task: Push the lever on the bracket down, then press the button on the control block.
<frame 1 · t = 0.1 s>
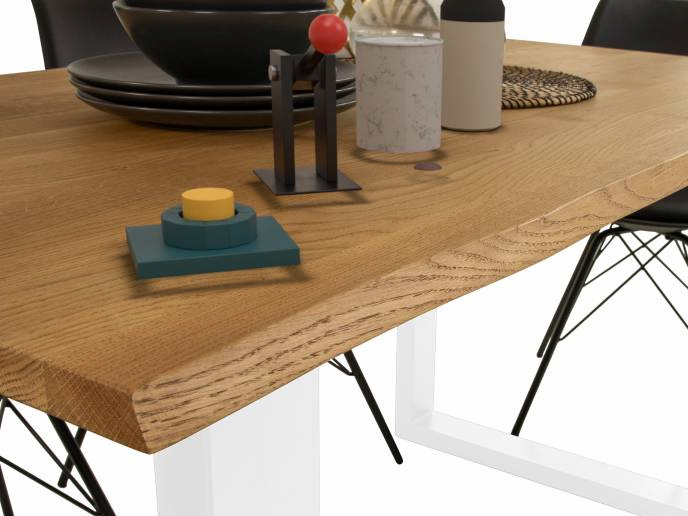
white marbled canister: (398, 154, 112), on the table
travel mug: (469, 127, 128), on the table
control block: (212, 265, 73), on the table
lever: (315, 53, 86), point 13 cm above the table, hinge at 25.0°
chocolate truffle: (427, 179, 101), on the table
button: (208, 205, 72), point 5 cm above the table, slide at 0.2 cm
bracket: (306, 190, 95), on the table
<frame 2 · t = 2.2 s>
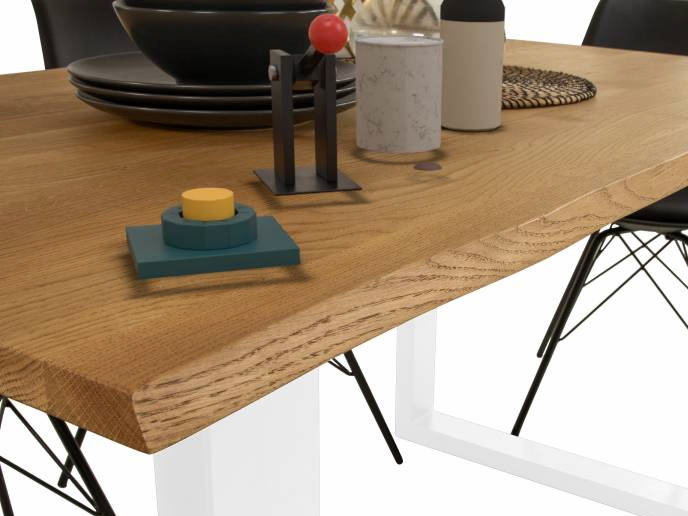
nothing on the table moved.
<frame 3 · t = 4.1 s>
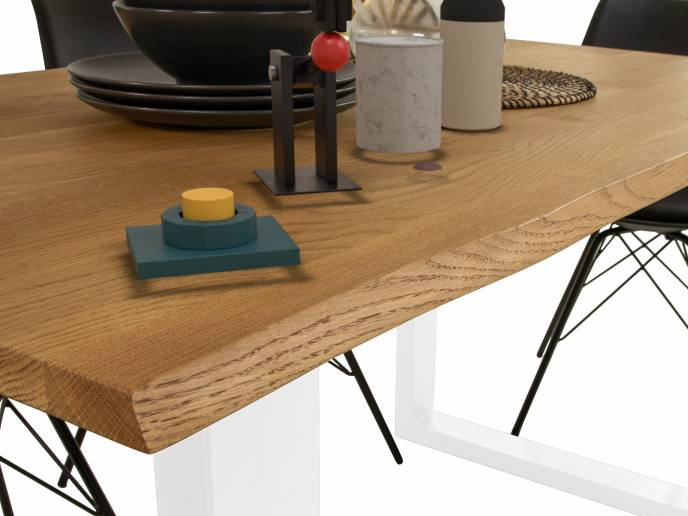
hand: (332, 30, 82), 16 cm above the table, tool pointing down, fingers closed
lever: (316, 62, 86), point 12 cm above the table, hinge at 16.7°, touching gripper
everything else where it was.
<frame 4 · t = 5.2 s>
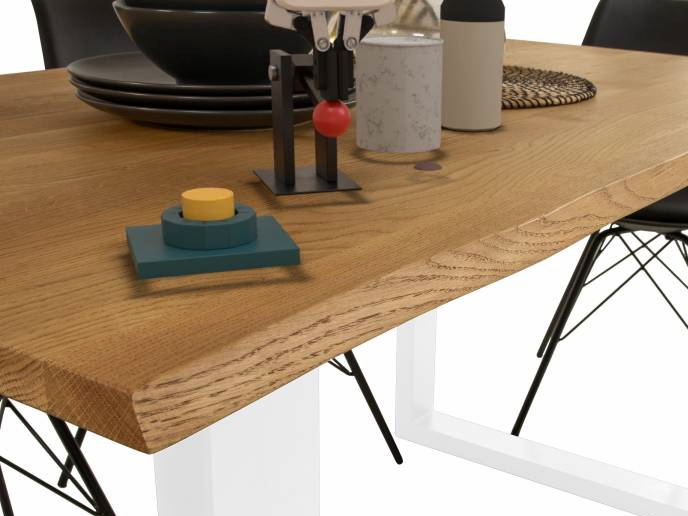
hand: (334, 98, 83), 10 cm above the table, tool pointing down, fingers closed
lever: (317, 94, 87), point 10 cm above the table, hinge at -14.6°, touching gripper
everything else where it was.
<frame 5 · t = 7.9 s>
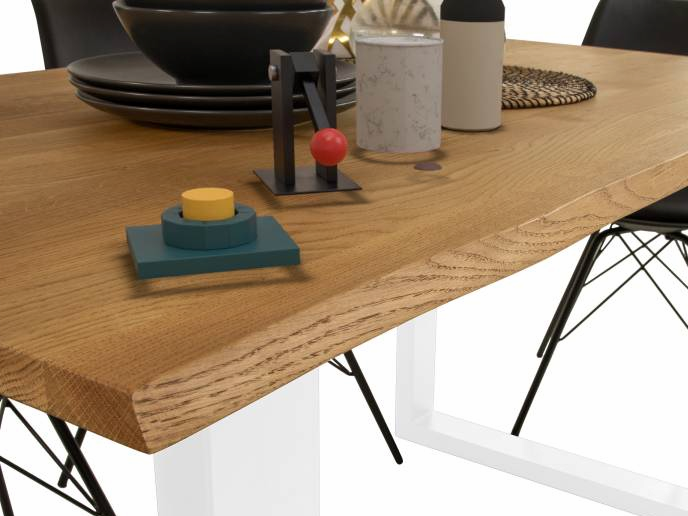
lever: (315, 109, 88), point 8 cm above the table, hinge at -31.0°
everything else where it was.
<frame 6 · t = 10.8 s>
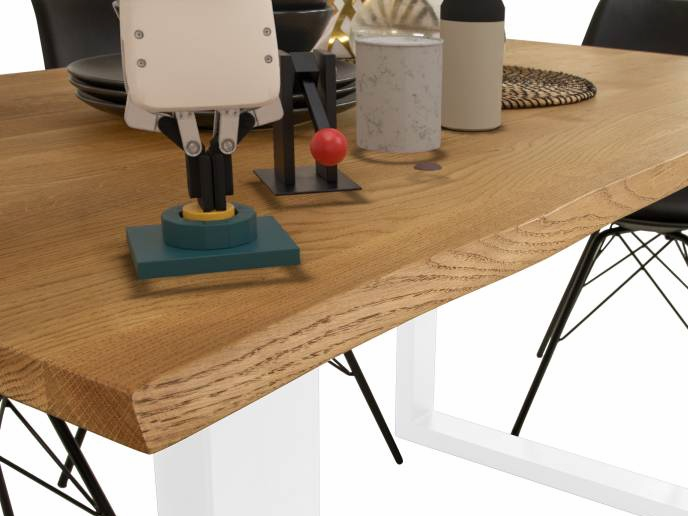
hand: (211, 206, 72), 4 cm above the table, tool pointing down, fingers closed
button: (209, 218, 72), point 4 cm above the table, slide at -0.8 cm, touching gripper
everything else where it was.
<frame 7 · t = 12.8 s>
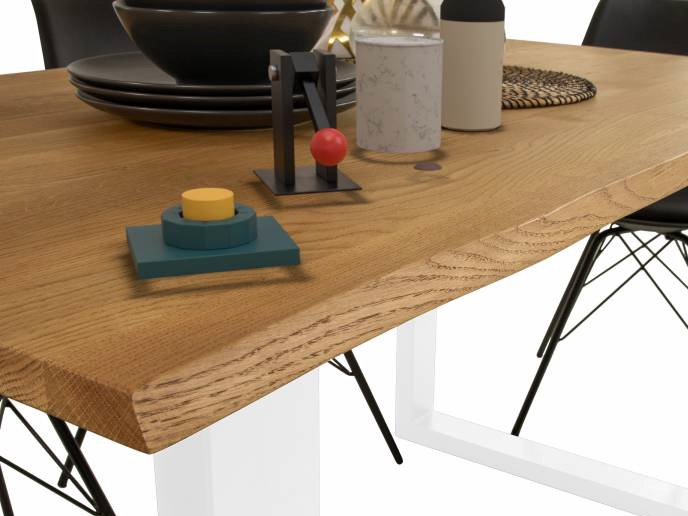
button: (208, 205, 72), point 5 cm above the table, slide at 0.1 cm
everything else where it was.
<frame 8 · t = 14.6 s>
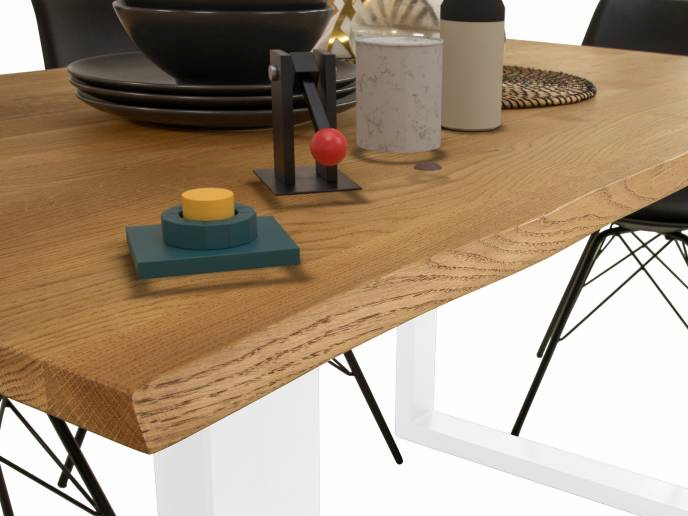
nothing on the table moved.
at the end: lever at -31° (first picture: +25°); button pushed in 1.1 cm at the most during the clip, back to where it started at the end; button slide at 0.1 cm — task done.
